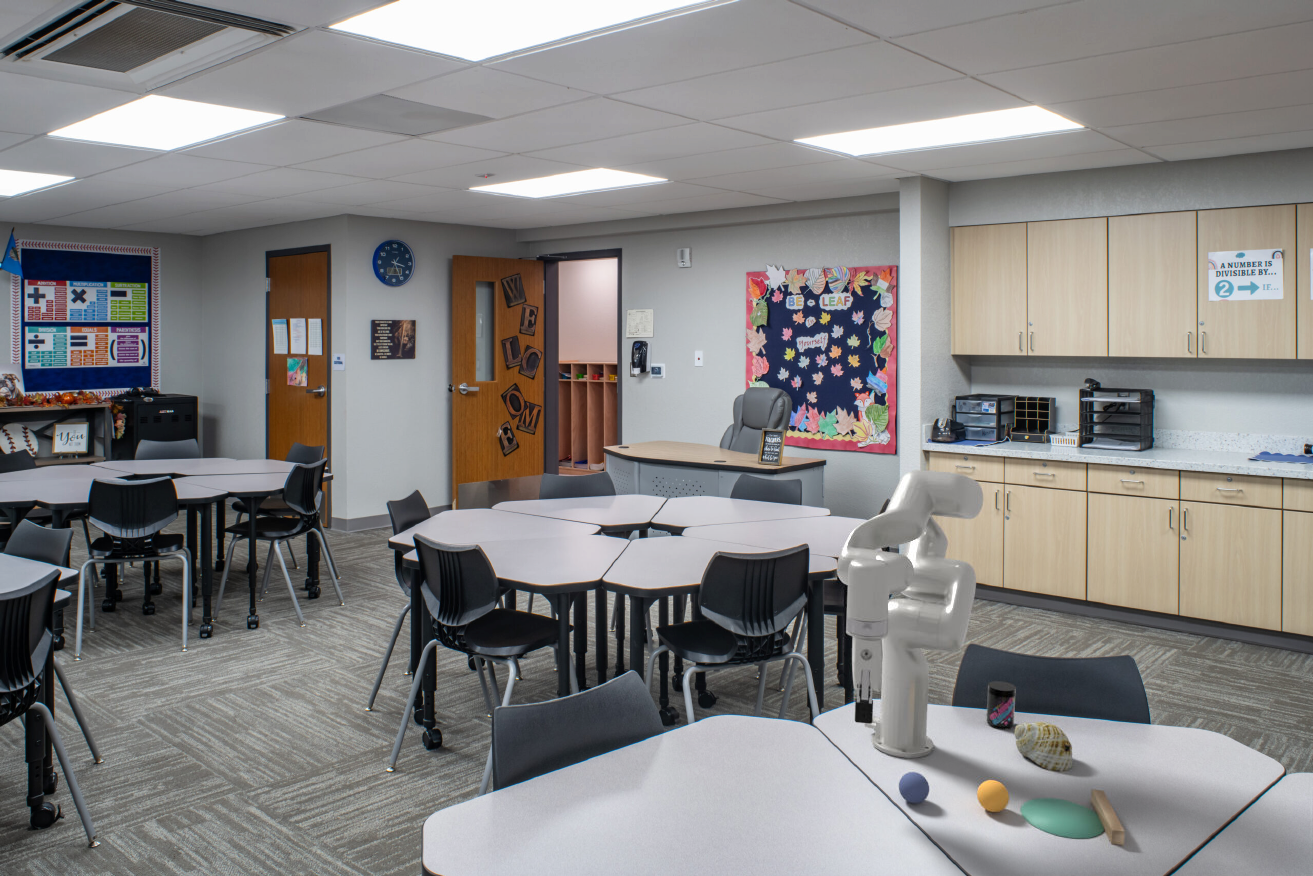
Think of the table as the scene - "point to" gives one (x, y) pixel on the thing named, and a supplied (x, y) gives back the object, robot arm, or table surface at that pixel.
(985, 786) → the orange ball
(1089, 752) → the table surface
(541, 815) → the table surface
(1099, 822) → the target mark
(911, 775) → the slate blue ball
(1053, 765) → the seashell
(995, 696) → the supplement container
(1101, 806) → the wall
